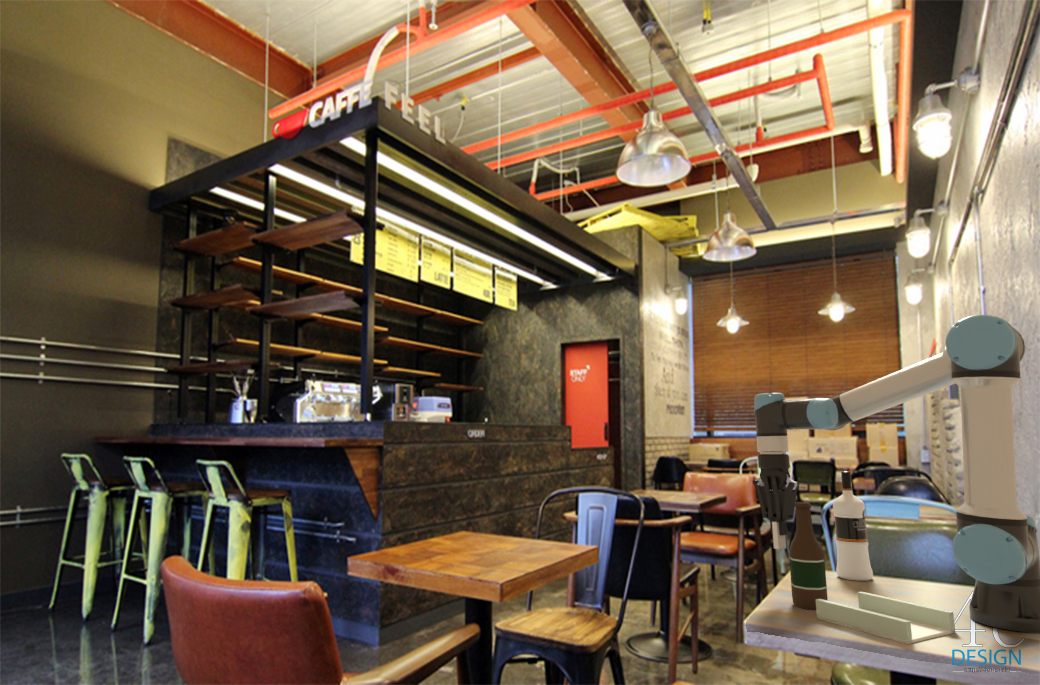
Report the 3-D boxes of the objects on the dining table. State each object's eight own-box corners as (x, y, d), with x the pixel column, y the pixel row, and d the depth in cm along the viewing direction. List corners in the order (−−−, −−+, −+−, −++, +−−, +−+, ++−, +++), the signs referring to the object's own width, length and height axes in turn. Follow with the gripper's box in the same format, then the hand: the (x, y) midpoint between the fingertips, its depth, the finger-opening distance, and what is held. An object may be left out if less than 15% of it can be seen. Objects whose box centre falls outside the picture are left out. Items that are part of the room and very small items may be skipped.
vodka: (843, 573, 185) (835, 470, 190) (877, 578, 179) (868, 471, 183) (831, 578, 179) (823, 471, 184) (866, 583, 172) (857, 472, 177)
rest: (955, 632, 127) (953, 611, 128) (907, 644, 120) (905, 622, 121) (863, 609, 145) (861, 591, 146) (816, 618, 138) (815, 599, 138)
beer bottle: (826, 612, 143) (818, 504, 147) (789, 607, 147) (782, 502, 151) (830, 604, 150) (822, 501, 153) (795, 600, 154) (788, 500, 157)
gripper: (804, 453, 157) (812, 550, 153) (763, 452, 168) (769, 543, 165) (783, 453, 154) (791, 553, 150) (743, 453, 165) (749, 546, 161)
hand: (780, 548), depth 157 cm, fingers closed
